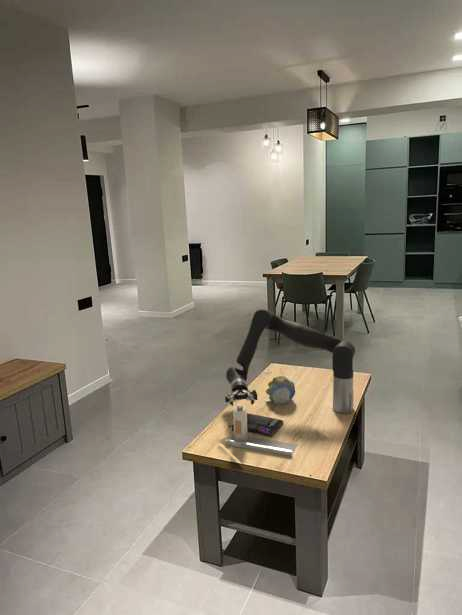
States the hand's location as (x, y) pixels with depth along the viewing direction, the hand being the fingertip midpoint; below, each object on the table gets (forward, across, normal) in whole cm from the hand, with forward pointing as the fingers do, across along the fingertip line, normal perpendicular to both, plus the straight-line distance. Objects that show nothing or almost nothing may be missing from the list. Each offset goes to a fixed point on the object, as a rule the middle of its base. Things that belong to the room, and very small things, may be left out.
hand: (242, 402), depth 198 cm
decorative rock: (-32, +21, +15) cm, 41 cm away
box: (-5, +7, +16) cm, 17 cm away
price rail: (+16, +4, +14) cm, 21 cm away
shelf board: (+12, +6, +15) cm, 20 cm away
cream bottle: (+8, -2, +14) cm, 16 cm away
